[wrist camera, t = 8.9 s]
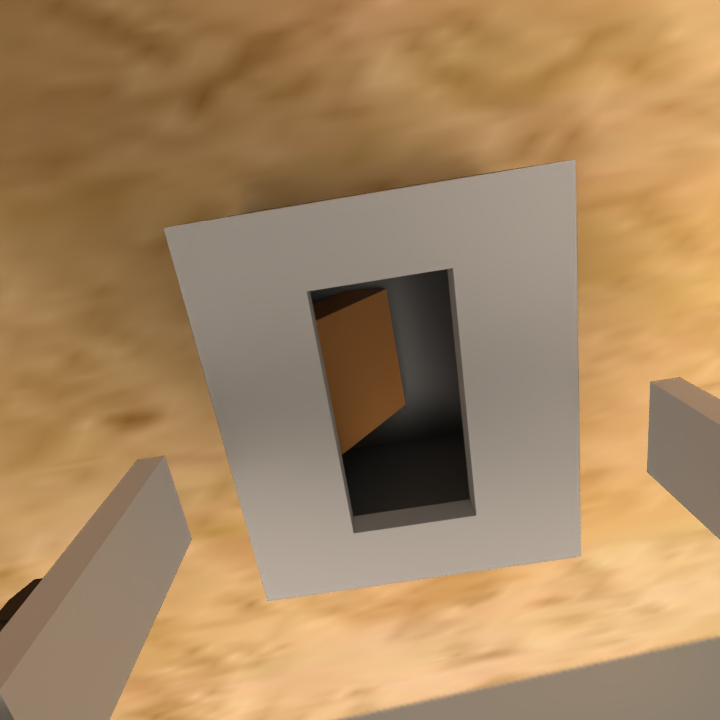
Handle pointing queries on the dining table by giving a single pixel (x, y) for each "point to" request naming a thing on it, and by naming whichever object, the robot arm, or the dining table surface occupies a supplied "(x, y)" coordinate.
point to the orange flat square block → (359, 361)
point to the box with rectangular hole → (418, 375)
